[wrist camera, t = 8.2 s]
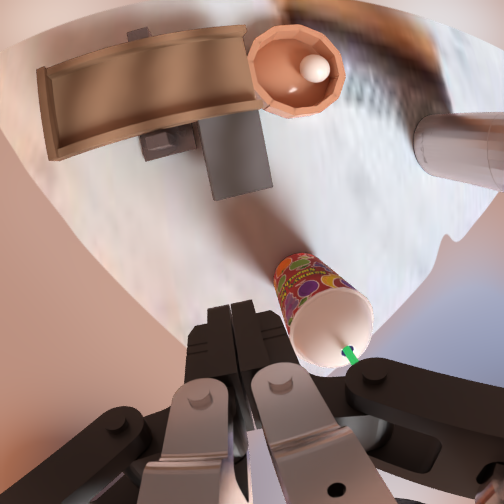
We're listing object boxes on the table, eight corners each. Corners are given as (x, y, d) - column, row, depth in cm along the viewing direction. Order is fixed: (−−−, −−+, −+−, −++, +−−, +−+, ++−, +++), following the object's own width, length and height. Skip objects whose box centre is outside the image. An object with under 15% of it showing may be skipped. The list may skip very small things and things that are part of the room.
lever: (233, 40, 28) (248, 21, 23) (263, 185, 34) (282, 189, 29) (52, 82, 23) (36, 69, 19) (84, 234, 29) (72, 247, 24)
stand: (175, 41, 29) (166, 14, 22) (196, 148, 34) (191, 147, 26) (127, 54, 29) (107, 33, 22) (146, 161, 34) (129, 164, 26)
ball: (290, 56, 30) (307, 60, 32) (297, 84, 31) (312, 86, 33) (316, 49, 27) (331, 53, 30) (323, 77, 29) (337, 80, 31)
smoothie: (291, 230, 39) (361, 306, 20) (338, 264, 41) (422, 347, 22) (252, 283, 40) (286, 392, 21) (301, 312, 42) (357, 417, 24)
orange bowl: (322, 33, 31) (332, 23, 28) (340, 112, 34) (352, 109, 31) (236, 40, 30) (238, 29, 27) (253, 124, 34) (258, 121, 31)
